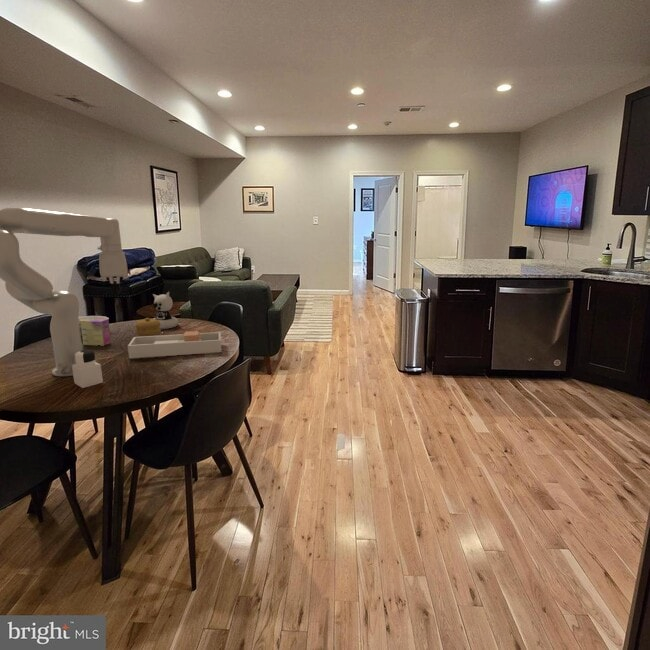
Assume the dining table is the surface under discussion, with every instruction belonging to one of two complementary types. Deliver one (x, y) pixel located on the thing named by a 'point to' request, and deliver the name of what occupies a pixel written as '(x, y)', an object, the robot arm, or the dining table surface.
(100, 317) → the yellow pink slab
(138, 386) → the dining table surface
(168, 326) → the decorative figurine
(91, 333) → the box
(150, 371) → the dining table surface
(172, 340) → the channel
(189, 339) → the block
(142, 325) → the pot
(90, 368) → the medicine bottle
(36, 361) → the dining table surface
